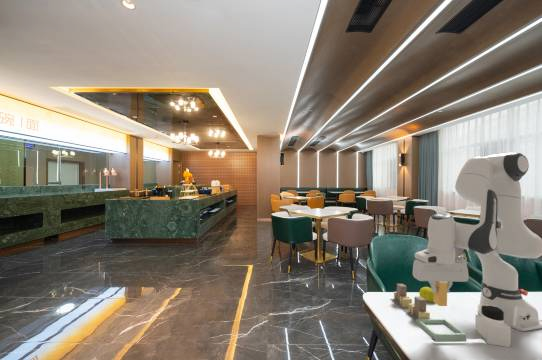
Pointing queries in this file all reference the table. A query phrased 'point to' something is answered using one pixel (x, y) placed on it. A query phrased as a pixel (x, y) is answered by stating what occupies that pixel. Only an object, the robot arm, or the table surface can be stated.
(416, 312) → the holder
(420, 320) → the tray
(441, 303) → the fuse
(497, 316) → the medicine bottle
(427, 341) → the table surface
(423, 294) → the tennis ball
